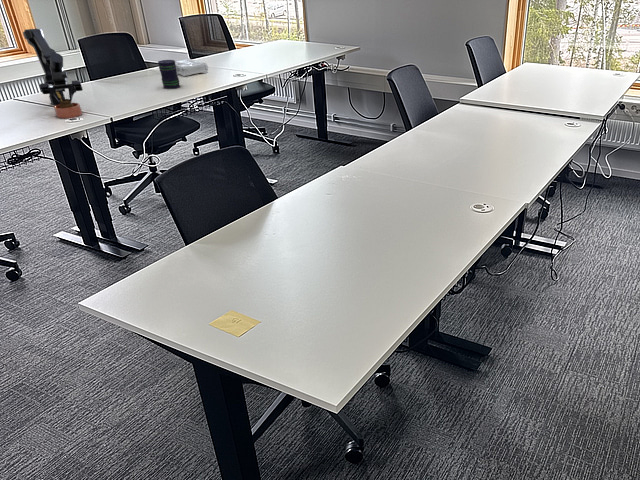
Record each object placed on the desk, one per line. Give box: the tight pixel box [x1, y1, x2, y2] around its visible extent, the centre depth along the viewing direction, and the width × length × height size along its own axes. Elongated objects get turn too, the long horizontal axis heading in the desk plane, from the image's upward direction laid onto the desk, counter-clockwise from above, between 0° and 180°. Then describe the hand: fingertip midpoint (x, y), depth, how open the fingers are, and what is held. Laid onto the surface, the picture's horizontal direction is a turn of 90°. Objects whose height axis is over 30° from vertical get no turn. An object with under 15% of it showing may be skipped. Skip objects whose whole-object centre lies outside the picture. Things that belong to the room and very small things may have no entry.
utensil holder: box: [56, 90, 73, 108], centre depth 291 cm, size 6×6×12 cm
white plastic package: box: [174, 58, 209, 77], centre depth 383 cm, size 19×28×8 cm
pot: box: [53, 102, 83, 119], centre depth 294 cm, size 12×12×5 cm
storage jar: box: [157, 59, 181, 90], centre depth 344 cm, size 10×10×15 cm
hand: (65, 101), depth 290 cm, fingers closed on utensil holder, 5 cm apart
